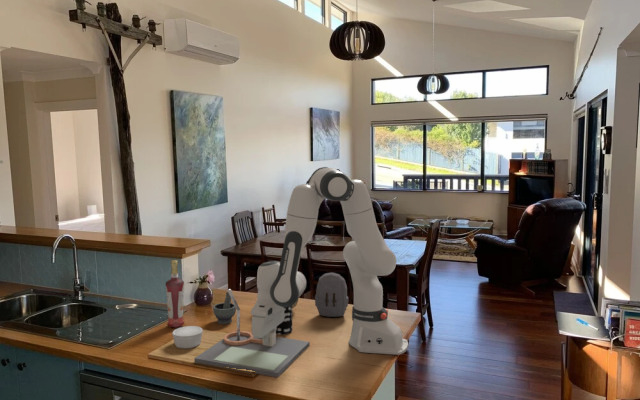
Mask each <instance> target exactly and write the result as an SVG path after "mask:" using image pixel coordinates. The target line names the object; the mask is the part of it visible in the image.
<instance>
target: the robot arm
mask: <svg viewBox="0 0 640 400" xmlns="http://www.w3.org/2000/svg"><path fill="white" fill-rule="evenodd" d="M325 199H326V200H329V201H332V202H340V205H341V209H342V213H343V217H344V222H345V225H346V231H347V233H348V235H349V236H350V237H351V238H352V240H351V241H349V242H347V243H346V244H345V246H344V248H343V250H342V256H343V260H344V262H346V264H347V267H348V269H349V274H350V276H351V282H352V288H353V306H352V309H351V320H352V327H351V332H350V336H349V337H350V338H349V341H348V343H349V345H350V346H351V347H353V348H354V349H356V350H357V351H358V352H359V353H367V354H368V353H369V354H382V355H383V354H384V355H395V356H398V355H402V354H404V353H405V352H407V351H408V349H409V342H408V340H407V339H406V338H403V333H402V330H401V327H400V326H398V325H397V324H396V323H395V322H393V320H391V319H390V318H389V316H388V314H389V309H388V308H385V307H383V305H384V304H383V302H384V297H383V296H384V293H383V292H384V291H383V289H384V288H383V285H382V283H381V282H380V281H379V278H378V277H379V276H381V277H382V276H384V277H385V276H389V275H391V274H392V273H393V272H394V271H395V268H396V265H397V256H396V254H395V253H394V252H393V251H392V250H391V249H390V248H389V246H388V245H387V242H386V241H385V240H384V237H383V235H382V234H381V231H380V230H379V227H378V224H377V221H376V215H375V212H374V211H375V210H374V208H373V203H372V199H371V196H370V193H369V191H368V188H367V186H366V183H365V182H363V180H359V179H350V178H349V177H348V175H347V174H345V172H342V171H340V170H338V169H337V168H334V167H327V166H324V167H319V168H317V169H316V170H315V171H313V173H312V174H311V176H310V177H309V178H308V179H307V180H306V182H305V183H304V184H303V183H302V184H298V185H296V186H295V187H294V188H293V190H292V191H291V194H290V199H289V202H288V206H287V212H286V216H285V217H286V219H285V227H284V228H285V229H284V230H285V231H284V237H283V238H284V240H283V248H282V252H281V256H280V261H277V260H269V261H266V262H263V263H261V264H260V265H259V266H258V269H257V275H256V288H257V295H256V302H254V303H255V304H254V305H253V307H252V308H251V310H250V316H252V318H251V333H252V335H253V336H254V337H257V338H262V337H263V339H264V343H265V344H268V343H269V342H270V338H269V337H268V335H269V332H270V331H273V332H276V329H277V326H278V325H279V324H280V323H282V322H283V321H284V318H285V316H284V307H290V306H292V305H294V304H295V302H296V301H297V299H298V298H300V297H301V295H302V294H303V293H304V291H305V290H306V288H307V284H308V283H307V279H306V276H305V274H303V272H301V271H298V268H299V264H300V259H301V255H302V252H303V250H304V248H305V246H306V245H307V244H308V242H309V241H310V240H311V238H312V237H313V235H314V233H315V230H316V227H317V223H318V217H319V209H320V206H321V204H322V202H323V201H324V200H325ZM298 300H299V299H298Z"/></svg>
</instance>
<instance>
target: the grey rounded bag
mask: <svg viewBox="0 0 640 400" xmlns="http://www.w3.org/2000/svg"><path fill="white" fill-rule="evenodd" d="M315 293H316V294H315V296H314V301H315V304H314V305H315V307H316V308H317V309H316V310H317V311H318V315H320V316H324V317H329V318H333V317H334V318H339V317H343V316H345V313H346V310H347V307H348V306H349V296H348V287H347V283H346V279H345V278H344V277H343V276H341V274H339V273H336V272H326V273H323V274H322V275H321V276H320V277H319V278H318V282H317V285H316V292H315Z"/></svg>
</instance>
